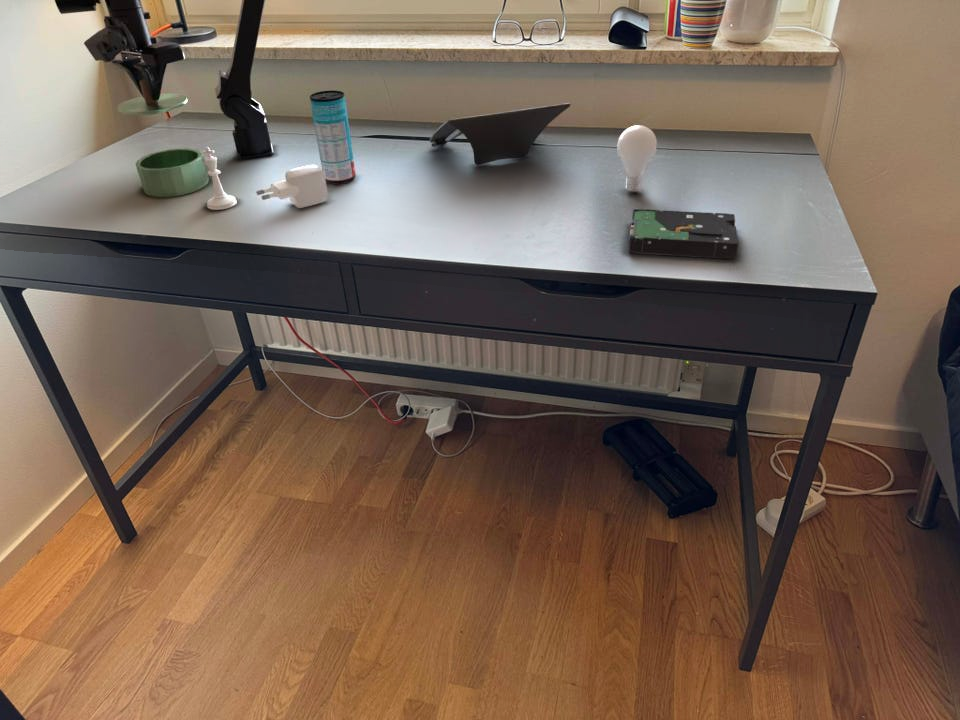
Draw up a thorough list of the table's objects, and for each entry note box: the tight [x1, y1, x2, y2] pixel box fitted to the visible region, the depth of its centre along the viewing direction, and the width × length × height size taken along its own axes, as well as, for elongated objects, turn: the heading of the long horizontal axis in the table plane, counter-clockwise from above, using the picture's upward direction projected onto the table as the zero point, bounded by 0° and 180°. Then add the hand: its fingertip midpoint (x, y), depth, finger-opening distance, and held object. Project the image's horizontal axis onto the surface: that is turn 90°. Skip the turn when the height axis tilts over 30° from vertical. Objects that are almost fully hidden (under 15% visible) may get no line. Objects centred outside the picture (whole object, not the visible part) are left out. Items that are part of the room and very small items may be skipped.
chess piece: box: [202, 146, 238, 211], centre depth 122 cm, size 5×5×10 cm
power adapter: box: [256, 164, 329, 209], centre depth 121 cm, size 11×5×6 cm, turn 123°
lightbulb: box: [616, 124, 658, 193], centre depth 118 cm, size 6×6×11 cm
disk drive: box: [627, 208, 739, 259], centre depth 104 cm, size 10×3×15 cm
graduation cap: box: [429, 102, 571, 166], centre depth 137 cm, size 23×23×9 cm
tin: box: [135, 148, 210, 198], centre depth 132 cm, size 11×11×5 cm
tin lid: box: [116, 79, 188, 116], centre depth 135 cm, size 12×12×5 cm
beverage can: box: [309, 90, 357, 185], centre depth 128 cm, size 6×6×15 cm
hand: (151, 99), depth 135 cm, fingers closed on tin lid, 2 cm apart
